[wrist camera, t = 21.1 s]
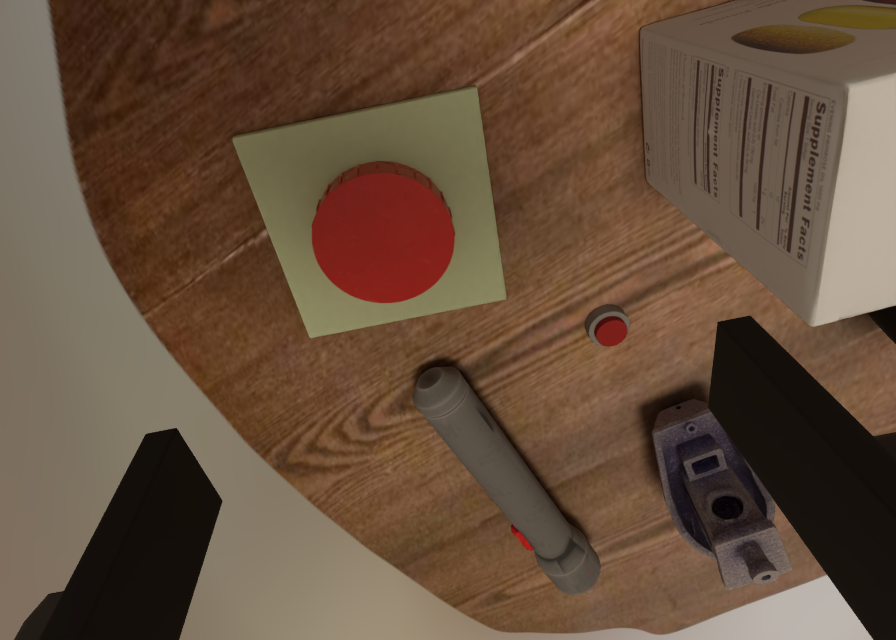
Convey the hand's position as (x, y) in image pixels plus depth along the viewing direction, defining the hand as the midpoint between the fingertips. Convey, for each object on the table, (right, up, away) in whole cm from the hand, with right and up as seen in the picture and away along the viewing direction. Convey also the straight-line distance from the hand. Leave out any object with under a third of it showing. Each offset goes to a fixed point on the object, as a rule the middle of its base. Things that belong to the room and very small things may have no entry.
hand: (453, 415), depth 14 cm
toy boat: (+21, -9, +35) cm, 42 cm away
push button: (+11, +2, +27) cm, 30 cm away
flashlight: (+5, -10, +35) cm, 37 cm away
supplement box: (+16, +16, +19) cm, 29 cm away
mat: (-4, +9, +21) cm, 23 cm away
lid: (-4, +7, +19) cm, 21 cm away
